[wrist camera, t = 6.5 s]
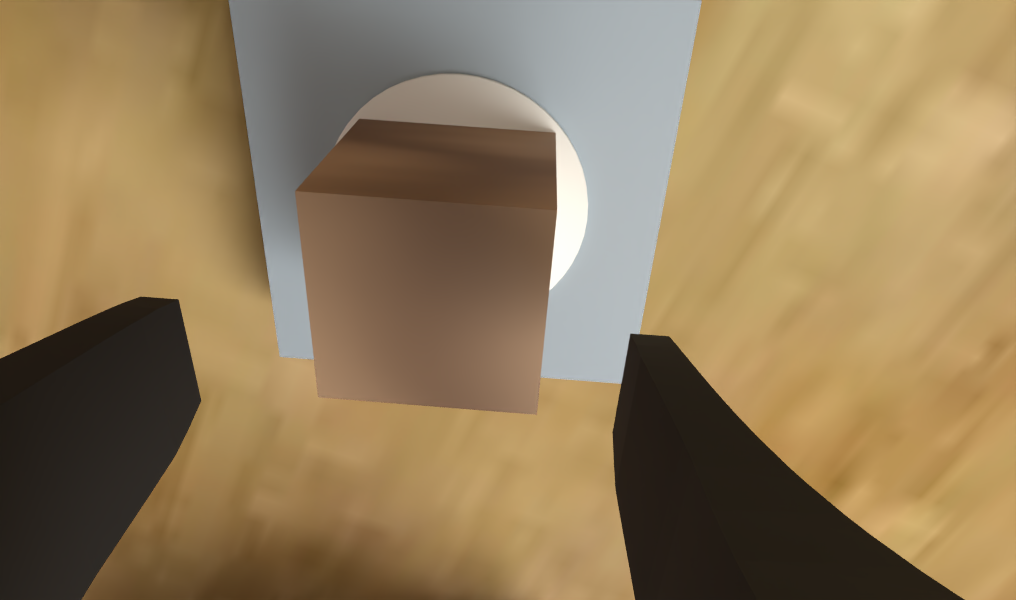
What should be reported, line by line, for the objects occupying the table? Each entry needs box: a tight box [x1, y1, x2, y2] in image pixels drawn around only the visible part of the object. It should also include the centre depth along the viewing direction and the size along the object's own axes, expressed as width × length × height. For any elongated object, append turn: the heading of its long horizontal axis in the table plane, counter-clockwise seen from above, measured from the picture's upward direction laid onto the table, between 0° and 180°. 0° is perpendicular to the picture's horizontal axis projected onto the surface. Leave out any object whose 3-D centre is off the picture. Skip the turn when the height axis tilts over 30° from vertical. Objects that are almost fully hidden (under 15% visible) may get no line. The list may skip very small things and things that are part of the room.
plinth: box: [229, 0, 701, 384], centre depth 18 cm, size 10×10×3 cm
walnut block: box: [295, 119, 557, 415], centre depth 15 cm, size 4×4×4 cm
